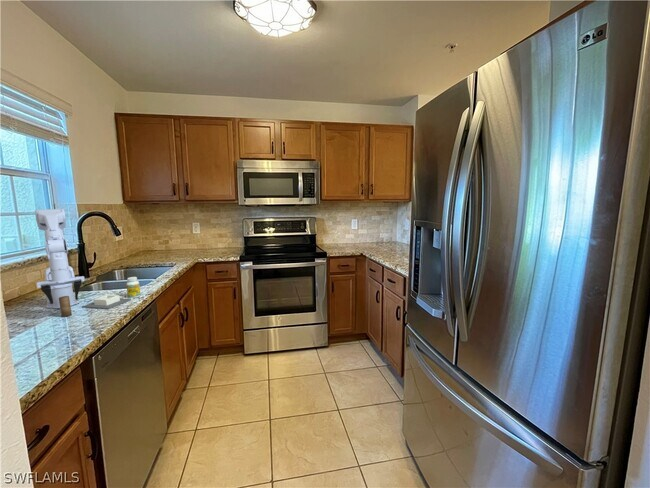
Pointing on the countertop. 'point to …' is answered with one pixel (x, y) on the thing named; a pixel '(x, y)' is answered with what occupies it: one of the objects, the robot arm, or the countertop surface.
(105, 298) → the peg socket
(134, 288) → the supplement bottle
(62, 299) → the walnut peg
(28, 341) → the countertop surface
